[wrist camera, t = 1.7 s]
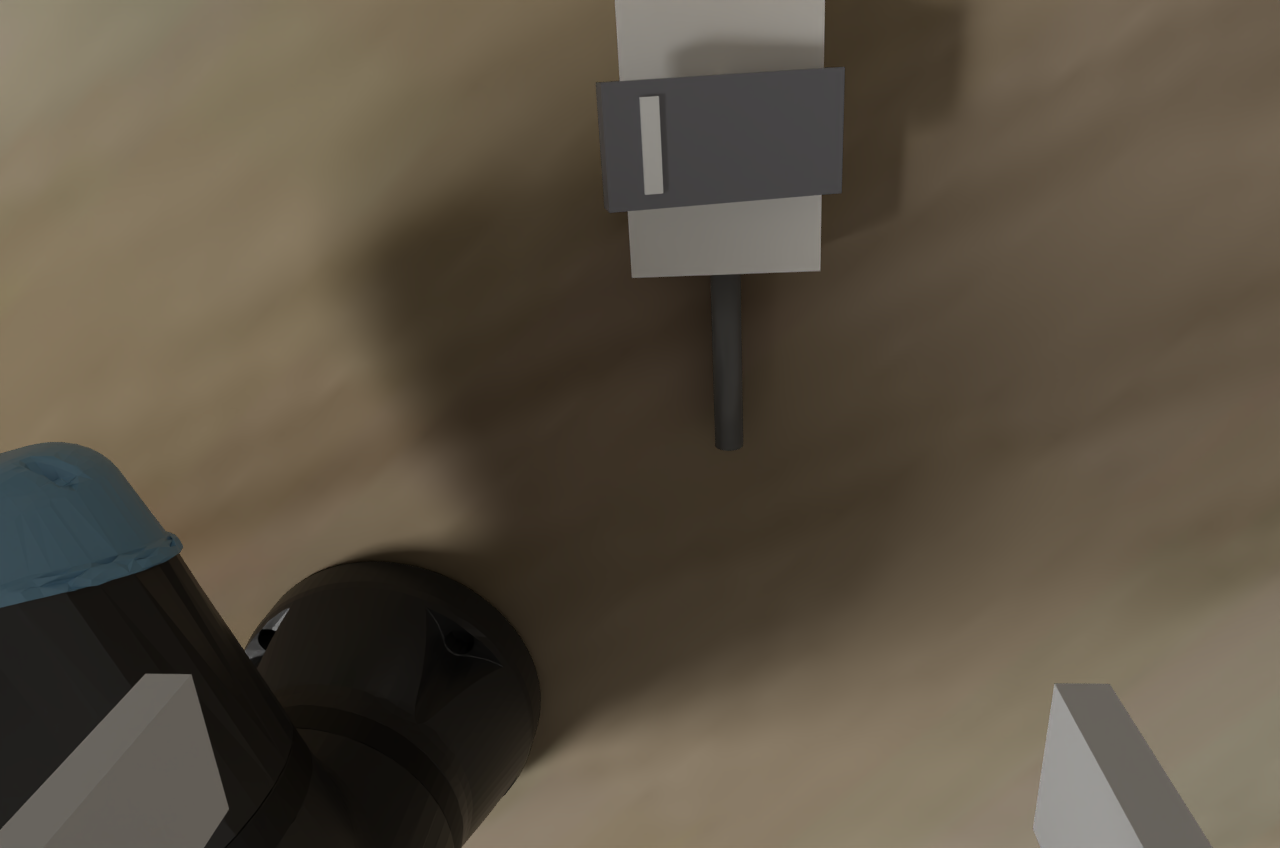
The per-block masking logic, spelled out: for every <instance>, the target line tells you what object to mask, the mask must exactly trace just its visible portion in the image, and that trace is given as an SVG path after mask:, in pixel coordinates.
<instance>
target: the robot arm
mask: <svg viewBox="0 0 1280 848" xmlns="http://www.w3.org/2000/svg"><path fill="white" fill-rule="evenodd" d="M182 548H183V545H182V543H181V542H180V540H179V538H178V537H177V536H176V535H175V534H172V533H170V532H167V531H165V530H164V529H163V527H162V526H161V525H160V523H159V522H158V521H157V519H156V518H155V517H154V515H153V514H152V513H151V511H150V510H149V509H148V507H147V506H146V505H145V504H144V502H143V501H142V500H141V498H140V497H139V496H138V494H137V493H136V492H135V490H134V489H133V488H132V486H131V485H130V484H129V482H128V481H127V480H126V478H125V477H124V476H123V474H122V473H121V472H120V470H119V469H118V468H117V467H116V466H115V465H114V464H113V463H112V462H111V461H110V460H109V459H107V458H106V457H105V456H103V455H102V454H100V453H99V452H97V451H95V450H93V449H90V448H88V447H84V446H81V445H78V444H72V443H65V442H47V443H40V444H34V445H30V446H25V447H22V448H18V449H15V450H11V451H8V452H4V453H1V454H0V848H462V846H463V845H464V844H465V842H466V841H467V840H468V839H469V838H470V836H471V835H472V834H473V833H474V832H475V831H476V829H477V828H478V827H479V826H480V825H481V823H482V822H483V821H484V820H485V818H486V817H487V816H488V815H489V813H490V812H491V811H492V809H493V808H494V807H495V806H496V804H497V803H498V802H499V800H500V799H501V798H502V797H503V796H504V795H505V794H506V793H507V792H508V790H509V789H510V788H511V787H512V785H513V784H514V783H515V781H516V780H517V778H518V777H519V775H520V773H521V771H522V769H523V767H524V765H525V763H526V761H527V758H528V756H529V752H530V749H531V746H532V742H533V739H534V735H535V732H536V728H537V725H538V720H539V715H540V701H541V697H540V687H539V681H538V676H537V673H536V669H535V666H534V663H533V661H532V659H531V656H530V654H529V652H528V650H527V648H526V646H525V644H524V643H523V641H522V640H521V638H520V636H519V635H518V634H517V632H516V631H515V630H514V628H513V627H512V626H511V625H510V623H509V622H508V621H507V620H506V619H505V618H504V617H503V616H502V615H501V614H500V613H499V612H498V611H497V610H496V609H495V608H494V607H493V606H492V605H491V604H489V603H488V602H487V601H486V600H484V599H483V598H482V597H480V596H479V595H477V594H476V593H475V592H473V591H472V590H470V589H468V588H467V587H465V586H463V585H461V584H460V583H458V582H456V581H454V580H452V579H449V578H447V577H445V576H443V575H440V574H437V573H435V572H432V571H429V570H426V569H422V568H419V567H415V566H410V565H405V564H399V563H390V562H359V563H350V564H345V565H340V566H336V567H332V568H329V569H326V570H323V571H321V572H318V573H316V574H314V575H312V576H310V577H308V578H306V579H304V580H303V581H301V582H300V583H298V584H296V585H295V586H294V587H293V588H291V589H290V590H289V591H288V592H287V593H286V594H285V595H283V596H282V597H281V599H280V600H279V601H278V602H277V603H276V604H275V606H274V607H273V608H272V609H271V610H270V612H269V613H268V614H267V615H266V617H265V618H264V619H263V620H262V622H261V623H260V624H259V625H258V627H257V628H256V630H255V631H254V632H253V634H252V636H251V638H250V639H249V641H248V643H247V645H246V647H245V650H243V648H242V647H241V645H240V644H239V642H238V641H237V639H236V638H235V636H234V635H233V633H232V632H231V630H230V629H229V627H228V626H227V625H226V623H225V622H224V620H223V619H222V617H221V616H220V614H219V613H218V611H217V610H216V608H215V607H214V605H213V604H212V603H211V601H210V600H209V598H208V597H207V595H206V594H205V592H204V591H203V589H202V588H201V586H200V585H199V583H198V582H197V580H196V579H195V577H194V576H193V574H192V573H191V571H190V570H189V568H188V566H187V565H186V563H185V562H184V560H183V559H182V557H181V556H180V554H179V553H180V552H181V550H182ZM1033 830H1034V832H1035V835H1036V837H1037V840H1038V842H1039V845H1040V847H1041V848H1213V847H1212V846H1211V844H1210V842H1209V841H1208V839H1207V838H1206V836H1205V835H1204V833H1203V831H1202V830H1201V828H1200V827H1199V825H1198V823H1197V822H1196V820H1195V819H1194V817H1193V815H1192V814H1191V812H1190V811H1189V809H1188V807H1187V806H1186V804H1185V803H1184V801H1183V800H1182V798H1181V796H1180V795H1179V793H1178V792H1177V790H1176V788H1175V787H1174V785H1173V784H1172V782H1171V780H1170V779H1169V777H1168V776H1167V774H1166V773H1165V771H1164V769H1163V768H1162V766H1161V765H1160V763H1159V761H1158V760H1157V758H1156V757H1155V755H1154V753H1153V752H1152V750H1151V749H1150V747H1149V746H1148V744H1147V742H1146V741H1145V739H1144V738H1143V736H1142V734H1141V733H1140V731H1139V730H1138V728H1137V726H1136V725H1135V723H1134V722H1133V720H1132V719H1131V717H1130V715H1129V714H1128V712H1127V711H1126V709H1125V707H1124V706H1123V704H1122V703H1121V701H1120V699H1119V698H1118V696H1117V695H1116V693H1115V692H1114V690H1113V688H1112V687H1111V685H1110V684H1068V683H1054V690H1053V697H1052V704H1051V710H1050V717H1049V724H1048V731H1047V737H1046V744H1045V751H1044V758H1043V764H1042V771H1041V778H1040V785H1039V792H1038V798H1037V805H1036V812H1035V819H1034V825H1033Z"/></svg>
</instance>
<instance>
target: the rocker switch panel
mask: <svg viewBox="0 0 1280 848" xmlns="http://www.w3.org/2000/svg"><path fill="white" fill-rule="evenodd" d="M615 12H616V28H617V44H618V61H619V77H620V81H624V80H640V79H655V78H671V77H686V76H702V75H717V74H733V73H748V72H764V71H779V70H795V69H810V68H824V27H825V0H615ZM821 203H822V195H814V196H802V197H790V198H778V199H767V200H755V201H743V202H731V203H720V204H708V205H696V206H684V207H673V208H661V209H649V210H637V211H628V224H629V240H630V256H631V273H632V278H645V277H672V276H699V275H710V279H711V314H712V349H713V384H714V419H715V446H716V448H718V449H721V450H727V451H731V450H737V449H740V448H741V447H743V401H742V338H741V276H740V274H753V273H780V272H807V271H820V262H821Z"/></svg>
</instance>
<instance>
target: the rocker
mask: <svg viewBox="0 0 1280 848" xmlns="http://www.w3.org/2000/svg"><path fill="white" fill-rule="evenodd" d="M844 82H845V67H826V68H810V69H795V70H779V71H764V72H748V73H733V74H717V75H702V76H686V77H671V78H655V79H640V80H624V81H609V82H596V95H597V109H598V124H599V138H600V152H601V166H602V180H603V194H604V208H605V209H606V210H607V211H608V212H609V213H614V212H626V211H637V210H649V209H661V208H673V207H684V206H696V205H708V204H720V203H731V202H743V201H755V200H767V199H778V198H790V197H802V196H814V195H825V194H837V193H842V162H843V122H844Z"/></svg>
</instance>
